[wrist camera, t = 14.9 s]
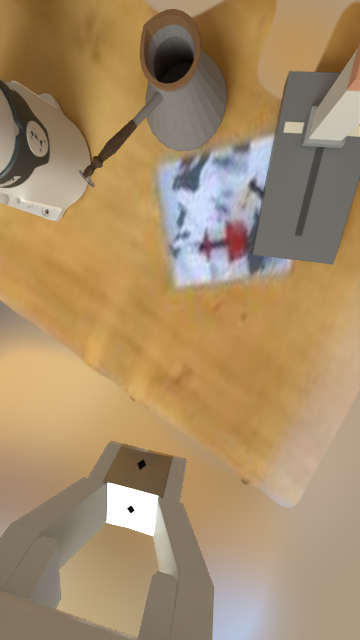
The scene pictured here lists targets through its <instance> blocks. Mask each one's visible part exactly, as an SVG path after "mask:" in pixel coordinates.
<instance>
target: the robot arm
mask: <svg viewBox="0 0 360 640" xmlns="http://www.w3.org/2000/svg"><path fill="white" fill-rule="evenodd" d="M90 164H91V160H90V153H89V149H88V146H87V143H86V141H85V139H84V137H83V135H82V133H81V132H80V130H79V129H78V128H77V126H76V125H75V124H74V123H73V122H72V121H71V120H69V119H68V118H67V117H66V116H65V115H64V113H63V112H62V110H61V108H60V106H59V104H58V102H57V101H56V99H55V98H54V97H53V96H51V95H50V94H48V93H43V94H39V95H37V94H35V93H34V92H32V91H31V90H29V89H28V88H26V87H25V86H23V85H22V84H20V83H19V82H17V81H14V80H11V82H5V81H3V80H2V79H1V78H0V203H3V204H6V205H9V206H12V207H14V208H17V209H20V210H23V211H26V212H29V213H32V214H35V215H38V216H41V217H44V218H46V219H49V220H52V221H59V220H60V219H61V218H62V216H63V214H64V213H65V211H66V209H67V208H68V207H69V206H71V205H72V204H73V203H75V202H76V201H77V200H78V199H79V198H80V197H81V196H82V194H83V193H84V191H85V189H86V187H87V185H88V183H87V182H86V181H85V180H84V179H83V177H82V176H81V175H80V173H79V170H81V171H82V172H84V170H85V169H86V167H87V166H89V165H90ZM81 174H82V173H81ZM89 178H90V176H89ZM86 180H87V181H88V182H89V180H88V179H87V178H86ZM48 210H49V214H48V213H47V211H48ZM185 466H186V459H185V458H180V457H176V456H173V455H168V454H164V453H159V452H155V451H151V450H145V449H141V448H137V447H134V446H130V445H127V444H122V443H118V442H114V441H110V442H109V443H108V445H107V446H106V448H105V450H104V452H103V453H102V455H101V456H100V458H99V460H98V461H97V463H96V465H95V467H94V468H93V470H92V472H91V473H90V475H89V477H88V478H85V477H84V478H82V479H80V480H79V481H77V482H76V483H74V484H72V485H71V486H69V487H68V488H66V489H65V490H63V491H61V492H60V493H58V494H57V495H55V496H54V497H52V498H51V499H49V500H47V501H46V502H44V503H43V504H41V505H40V506H38V507H36V508H35V509H33V510H32V511H30V512H29V513H27V514H26V515H24V516H22V517H21V518H19V519H18V520H16V521H14V522H13V523H11V524H10V526H9V527H8V528H7V530H6V531H5V532H4V533H3V535H2V536H1V537H0V640H212V628H213V598H214V586H213V583H212V580H211V578H210V575H209V572H208V569H207V567H206V564H205V561H204V559H203V556H202V553H201V551H200V548H199V546H198V543H197V540H196V537H195V535H194V532H193V529H192V526H191V524H190V521H189V518H188V516H187V513H186V510H185V508H184V506H183V504H182V503H180V498H181V492H182V486H183V479H184V473H185ZM106 522H108V523H111V524H116V525H119V526H123V527H128V528H131V529H134V530H137V531H140V532H143V533H146V534H149V535H152V536H153V539H154V544H155V549H156V555H157V560H158V565H159V570H160V572H159V571H158V572H156V573H155V574H154V575H153V576H152V580H151V584H150V588H149V593H148V597H147V601H146V606H145V610H144V614H143V619H142V623H141V627H140V631H139V635H138V638H137V637H134V636H132V635H129V634H126V633H123V632H120V631H117V630H114V629H112V628H109V627H106V626H103V625H100V624H97V623H95V622H92V621H89V620H86V619H83V618H80V617H78V616H74V615H72V614H69V613H66V612H63V611H60V610H57V609H56V608H57V606H58V603H59V601H60V599H61V592H60V591H61V590H60V577H59V569H60V568H61V567H62V566H63V565H64V564H65V563H66V562H67V561H68V560H69V559H70V558H71V557H72V556H73V555H74V554H75V553H76V552H77V551H78V550H79V549H80V548H82V546H84V544H86V543H87V541H88V540H90V539H91V538H92V537H93V536H94V535H95V534H96V533H97V532H98V531H99V530H100V529H101V528H102V527H103V526H104V525H105V524H106Z"/></svg>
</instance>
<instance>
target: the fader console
mask: <svg viewBox="0 0 360 640" xmlns="http://www.w3.org/2000/svg"><path fill="white" fill-rule="evenodd" d="M340 74H341V73H335V72H292V71H290V72H289V74H288V77H287V80H286V82H285V86H284V91H283V97H282V101H281V107H280V112H279V117H278V122H277V127H276V132H275V137H274V142H273V147H272V152H271V157H270V162H269V167H268V172H267V177H266V182H265V187H264V192H263V197H262V203H261V208H260V213H259V218H258V223H257V228H256V233H255V238H254V243H253V248H252V253H251V254H253V255H260V256H269V257H277V258H285V259H293V260H301V261H309V262H318V263H326V264H333V263H334V260H335V257H336V254H337V250H338V247H339V244H340V240H341V237H342V234H343V231H344V227H345V224H346V221H347V217H348V214H349V211H350V208H351V204H352V201H353V198H354V194H355V191H356V188H357V185H358V181H359V178H360V124H359V125H358V126H357V127H356V128H355V129H354V130H353V131H351V132H350V133H349V134H348V135H347V137H346V140H345V144H344V146H343V147H342V148H330V147H314V146H302V142H303V138H304V133H305V129H306V125H307V120H308V116H309V112H310V109H311V107H312V106H319V105H320V103H321V102H322V100H323V99H324V97H325V96H326V95H327V93H328V92H329V90H330V89H331V87H332V86H333V84H334V83H335V81H336V80H337V78H338V77H339V75H340Z"/></svg>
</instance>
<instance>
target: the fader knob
mask: <svg viewBox="0 0 360 640" xmlns="http://www.w3.org/2000/svg"><path fill="white" fill-rule="evenodd" d="M359 124H360V41H359V45H358V49H357V50H356V51H355V53H354V54H353V56H352V57H351V59H350V60H349V62H348V63H347V65H346V66H345V68H344V69H343V71H342V72H341V74H340V75H339V77H338V78H337V80H336V81H335V83H334V84H333V86H332V87H331V89H330V90H329V92H328V93H327V95H326V96H325V97H324V99H323V100H322V102H321V103H320V105H319V106H312V107H311V109H310V112H309V116H308V120H307V125H306V129H305V133H304V138H303V142H302V146H314V147H330V148H342V147H343V146H344V144H345V140H346V137H347V135H348V134H349V133H350V132H351V131H353V130H354V129H355V128H356V127H357V126H358V125H359Z"/></svg>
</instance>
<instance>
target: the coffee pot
mask: <svg viewBox="0 0 360 640" xmlns="http://www.w3.org/2000/svg"><path fill="white" fill-rule="evenodd" d="M140 61H141V66H142V70H143V72H144V74H145V77H146V78H147V79H148V87H147V93H146V105H145V106H144V107H143V109H142V110H141V111H140V112H139V113H138V114H137V115H136V116H135V117H134V119H133V120H131V121H130V122H129V123H128V124H126V125H125V126H124V127H123V128H122V129H121V130H120V131H119V132H118V133H117V134H116V135H115V136H114V137H112V138H111V139H110V140H109V141H108V142H107V143H106V145H105V146H104V148H103V149H102V151H101V152H100V154H99V155H98V156H94V157H93V162H92V163H91V164H90V165H89V166H87V167H86V169H85V170H84V172H82V171H81V170H79V173H80V175H81V176H82V177H83V179H84V180H85V181H86V182H87V183H88V184H90V185H91V186H92V187H94V186H95V185H94V183H93V182H92V181H91V180H90V178H89V176H90V175H92V174H93V173H94V170H95V169H96V168H101V167H102V164H103V162H104V161H105V160H106V159H108V158H109V157H110V156H112V155H113V154H114V153H116V151H117V150H118V149H119V148H120V147H121V146H122V144H123V143H124V142H125V141H126V140H127V138H128V137H129V136H130V135H131V134H132V132H133V131H134V130H135V129H136V127H137V126H138V125H139V124H140V123H141V122H142V121H143V120H144V119H145V118H146V117H147V119H148V123H149V125H150V128H151V130H152V132H153V134H154V135H155V136H156V137H157V139H158V140H159V141H160V142H161V143H162V144H164V145H165V146H167V147H168V148H171V149H174V150H177V151H189V150H192V149H196V148H198V147H200V146H201V145H203V144H204V143H206V142H207V141H208V140H209V139H210V138H211V137H212V136H213V135H214V134H215V132H216V131H217V129H218V127H219V125H220V124H221V122H222V118H223V115H224V112H225V109H226V98H227V94H226V85H225V81H224V78H223V76H222V73H221V70H220V68H219V67H218V66H217V64H216V63H215V62H214V60H213V59H212V58H210V57H209V56H208V55H207V54H206V53H204V52H203V51H202V50H201V39H200V33H199V31H198V28H197V26H196V24H195V23H194V21H193V20H192V18H191V17H190V16H189V15H187V14H186V13H185V12H183V11H180V10H176V9H170V10H165V11H163V12H161V13H159V14H157V15H156V16H154V17H153V18H151V19H150V20H149V21H148V22H147V23H146V24H144V27H143V31H142V36H141V44H140ZM81 173H82V174H81ZM86 178H87V179H88V180H89V181H90V182H91V183H92V184H91V183H89V182H88V181H87V180H86Z"/></svg>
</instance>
